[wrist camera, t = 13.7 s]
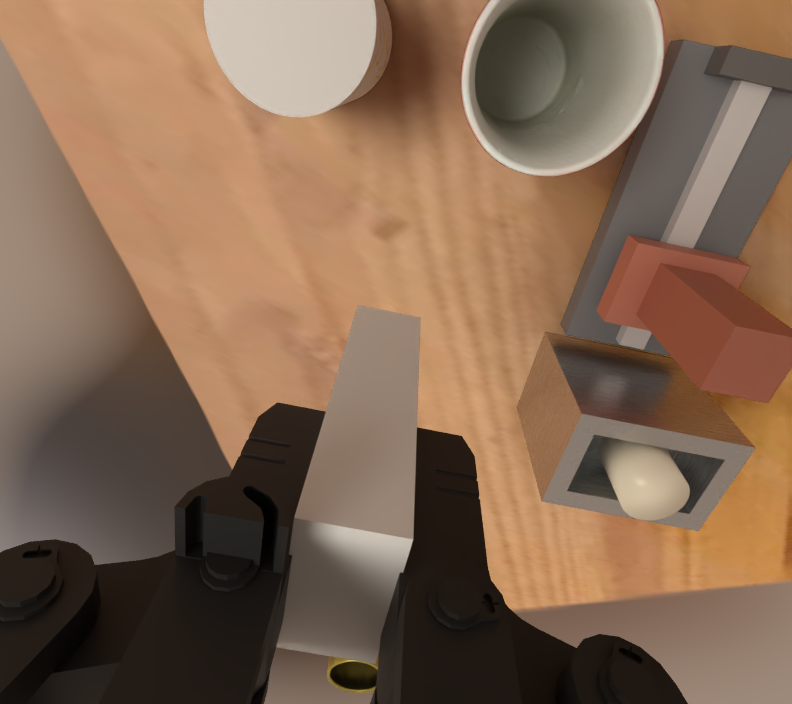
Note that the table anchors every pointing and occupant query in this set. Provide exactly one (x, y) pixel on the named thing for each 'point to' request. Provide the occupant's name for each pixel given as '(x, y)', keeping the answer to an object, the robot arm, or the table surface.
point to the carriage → (700, 317)
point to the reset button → (644, 478)
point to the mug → (560, 79)
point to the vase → (352, 675)
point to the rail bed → (692, 170)
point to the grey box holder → (623, 425)
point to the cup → (300, 50)
